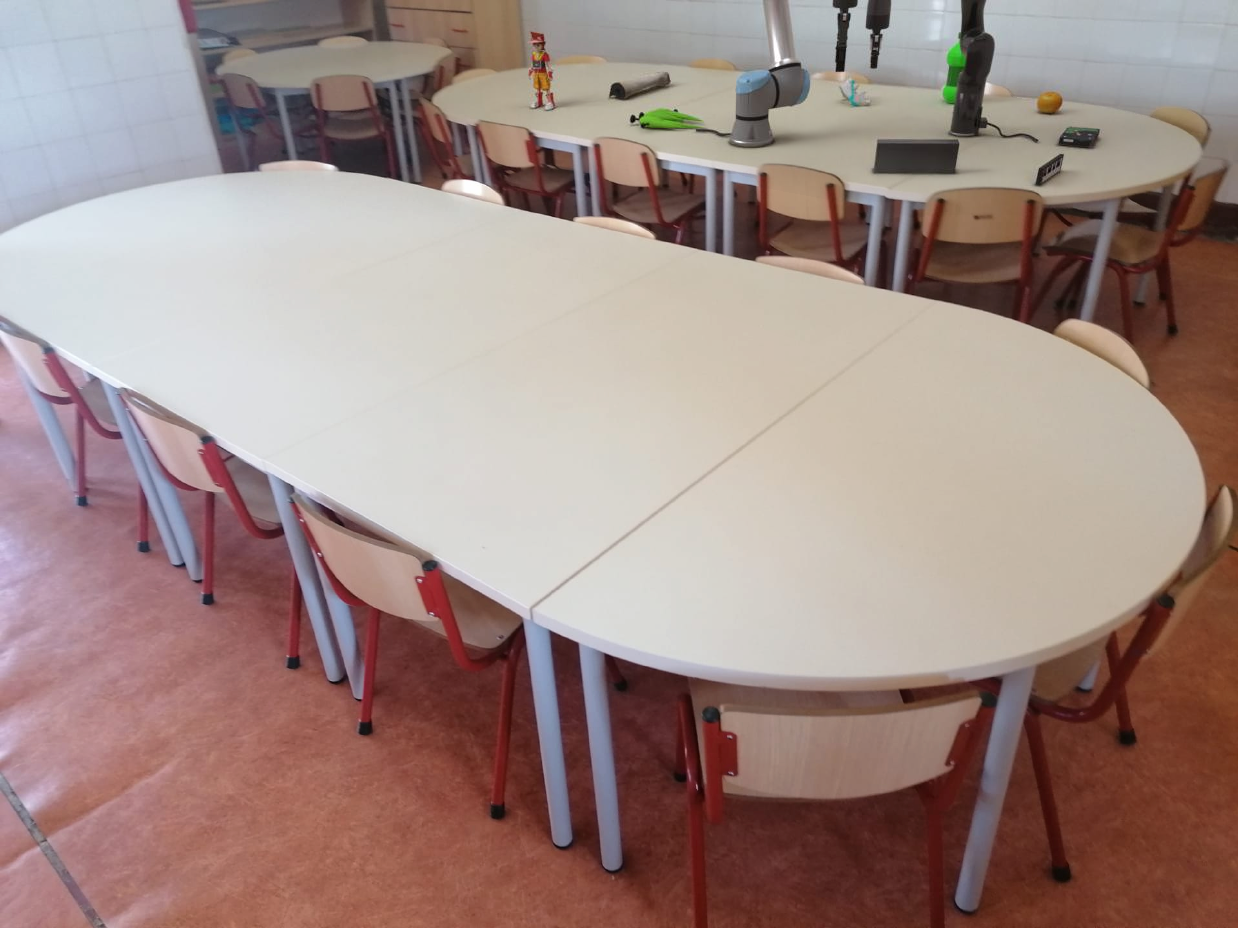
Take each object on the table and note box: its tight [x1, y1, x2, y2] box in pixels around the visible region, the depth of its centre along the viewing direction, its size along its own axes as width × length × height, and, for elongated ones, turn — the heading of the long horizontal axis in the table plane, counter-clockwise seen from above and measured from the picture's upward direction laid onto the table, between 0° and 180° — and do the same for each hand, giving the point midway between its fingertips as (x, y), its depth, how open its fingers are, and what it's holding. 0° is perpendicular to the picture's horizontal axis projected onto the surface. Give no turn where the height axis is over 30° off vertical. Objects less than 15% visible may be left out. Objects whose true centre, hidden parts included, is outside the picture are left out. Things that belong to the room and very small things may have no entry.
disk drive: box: [1057, 126, 1101, 148], centre depth 303 cm, size 10×3×15 cm
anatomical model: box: [838, 76, 872, 107], centre depth 360 cm, size 15×10×10 cm
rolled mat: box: [608, 71, 672, 101], centre depth 395 cm, size 30×9×10 cm
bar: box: [873, 138, 960, 174], centre depth 285 cm, size 25×4×9 cm, turn 78°
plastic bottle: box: [942, 31, 966, 104], centre depth 348 cm, size 10×10×25 cm
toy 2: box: [629, 107, 705, 129], centre depth 347 cm, size 28×5×30 cm
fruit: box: [1036, 91, 1064, 114], centre depth 334 cm, size 8×8×8 cm
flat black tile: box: [1035, 153, 1065, 186], centre depth 273 cm, size 18×1×5 cm, turn 138°
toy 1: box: [527, 31, 556, 111], centre depth 374 cm, size 12×9×30 cm
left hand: (839, 67), depth 286 cm, fingers open, 13 cm apart
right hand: (873, 65), depth 300 cm, fingers open, 8 cm apart
